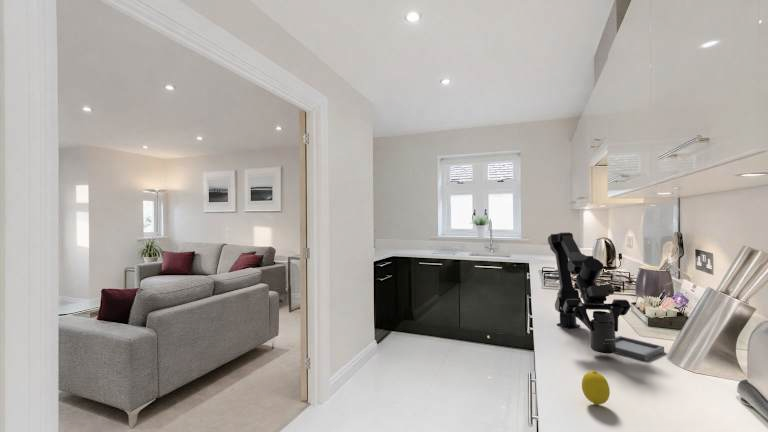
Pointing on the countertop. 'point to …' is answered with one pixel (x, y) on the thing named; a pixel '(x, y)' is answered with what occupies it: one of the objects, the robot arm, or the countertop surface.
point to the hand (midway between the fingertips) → (604, 330)
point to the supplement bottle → (602, 333)
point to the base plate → (637, 348)
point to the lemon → (595, 387)
